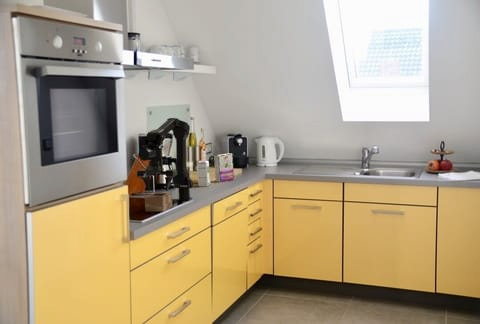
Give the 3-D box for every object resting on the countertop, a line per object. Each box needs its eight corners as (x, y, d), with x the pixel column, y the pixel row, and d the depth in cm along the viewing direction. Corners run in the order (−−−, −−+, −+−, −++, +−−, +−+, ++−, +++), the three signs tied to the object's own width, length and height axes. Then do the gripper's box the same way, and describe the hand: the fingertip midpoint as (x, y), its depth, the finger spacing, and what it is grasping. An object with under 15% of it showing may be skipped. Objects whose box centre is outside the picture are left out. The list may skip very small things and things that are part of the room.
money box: (155, 206, 290) (154, 192, 289) (172, 206, 287) (171, 192, 286) (145, 211, 279) (144, 196, 278) (163, 211, 277) (162, 196, 276)
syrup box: (207, 186, 347) (206, 161, 345) (198, 186, 348) (196, 161, 346) (210, 184, 352) (209, 160, 351) (200, 184, 353) (199, 160, 352)
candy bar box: (229, 179, 371) (227, 153, 369) (234, 180, 367) (233, 153, 365) (214, 181, 364) (213, 155, 362) (220, 182, 360) (218, 155, 358)
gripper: (130, 160, 275) (132, 193, 277) (167, 160, 270) (169, 194, 272) (140, 157, 286) (142, 189, 288) (176, 157, 281) (178, 190, 283)
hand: (157, 190), depth 282 cm, fingers open, 9 cm apart
